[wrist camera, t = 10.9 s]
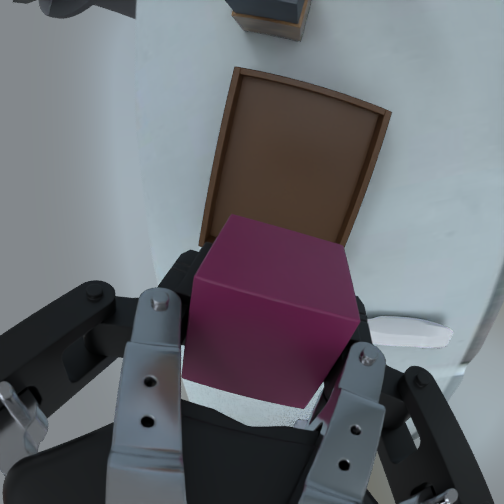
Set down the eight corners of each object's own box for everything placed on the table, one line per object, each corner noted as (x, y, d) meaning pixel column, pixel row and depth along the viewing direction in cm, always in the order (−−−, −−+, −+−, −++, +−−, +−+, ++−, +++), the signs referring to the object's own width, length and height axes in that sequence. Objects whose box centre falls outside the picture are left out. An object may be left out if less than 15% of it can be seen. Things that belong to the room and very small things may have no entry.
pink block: (212, 303, 14) (180, 378, 10) (230, 212, 11) (193, 275, 8) (306, 328, 14) (304, 409, 10) (343, 244, 11) (362, 321, 7)
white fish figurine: (435, 337, 35) (443, 357, 32) (313, 333, 38) (313, 355, 34) (449, 306, 33) (459, 326, 29) (319, 300, 35) (320, 321, 32)
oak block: (243, 30, 23) (230, 15, 18) (256, -15, 20) (246, -37, 15) (300, 42, 23) (300, 28, 18) (312, -4, 20) (315, -26, 15)
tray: (205, 235, 33) (198, 246, 31) (240, 69, 25) (234, 66, 22) (328, 270, 33) (329, 283, 31) (384, 111, 24) (392, 111, 22)
